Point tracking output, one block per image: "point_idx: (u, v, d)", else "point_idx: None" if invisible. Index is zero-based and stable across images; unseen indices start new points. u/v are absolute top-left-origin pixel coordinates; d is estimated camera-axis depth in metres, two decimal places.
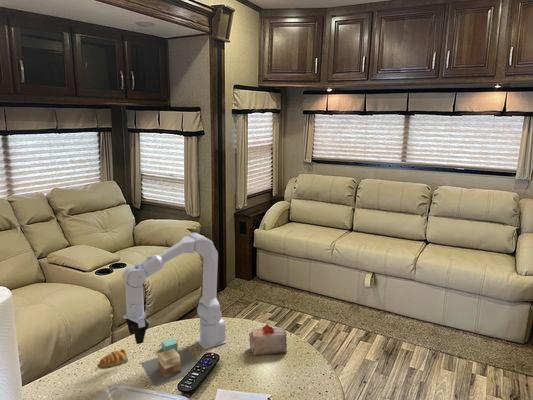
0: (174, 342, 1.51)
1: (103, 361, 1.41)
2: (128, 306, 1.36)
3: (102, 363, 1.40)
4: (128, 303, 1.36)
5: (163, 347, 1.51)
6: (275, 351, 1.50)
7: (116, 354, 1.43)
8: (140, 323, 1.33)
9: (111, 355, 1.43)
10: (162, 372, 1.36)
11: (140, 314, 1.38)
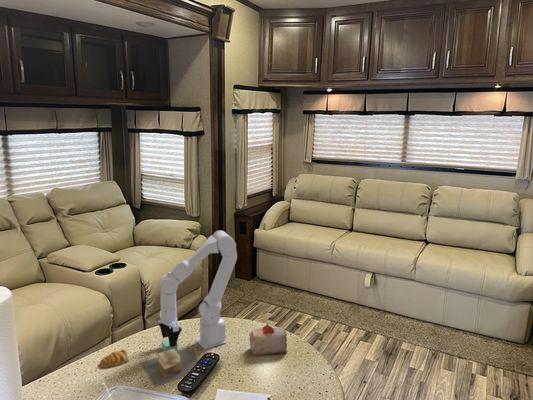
0: None
1: (104, 361, 1.40)
2: (163, 311, 1.47)
3: (103, 363, 1.40)
4: (162, 308, 1.47)
5: (163, 347, 1.51)
6: (275, 351, 1.50)
7: (117, 354, 1.43)
8: (174, 327, 1.44)
9: (112, 355, 1.42)
10: (162, 372, 1.36)
11: (173, 319, 1.48)
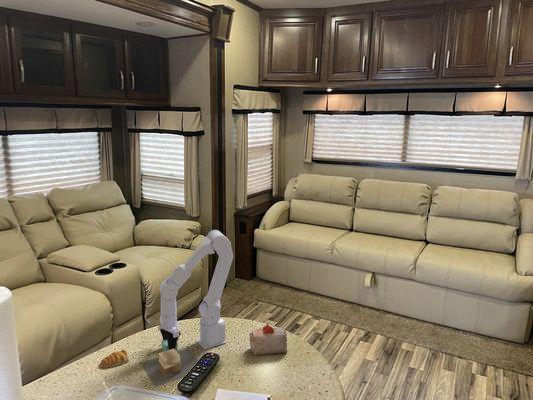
0: None
1: (104, 362, 1.40)
2: (163, 317, 1.47)
3: (103, 364, 1.40)
4: (162, 314, 1.47)
5: (163, 347, 1.51)
6: (275, 351, 1.50)
7: (117, 354, 1.43)
8: (175, 333, 1.44)
9: (112, 356, 1.42)
10: (162, 372, 1.36)
11: (174, 324, 1.49)
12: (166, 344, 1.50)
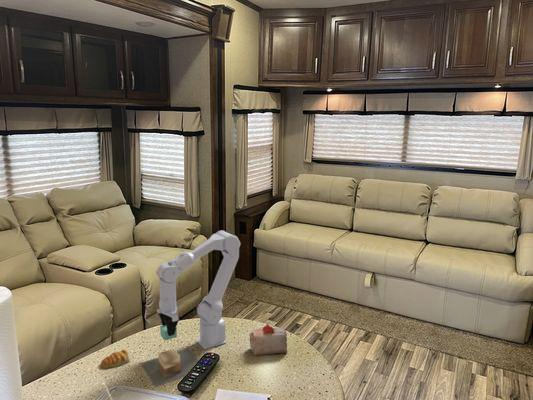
0: None
1: (105, 362, 1.40)
2: (162, 301, 1.43)
3: (104, 364, 1.40)
4: (162, 298, 1.42)
5: (162, 332, 1.46)
6: (275, 351, 1.50)
7: (118, 355, 1.43)
8: (174, 317, 1.40)
9: (112, 356, 1.42)
10: (162, 372, 1.36)
11: (173, 309, 1.44)
12: (165, 329, 1.45)
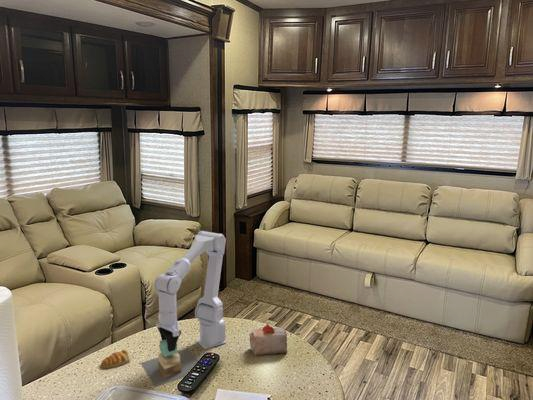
0: None
1: (105, 362, 1.40)
2: (161, 314, 1.33)
3: (104, 364, 1.39)
4: (165, 312, 1.32)
5: (161, 348, 1.36)
6: (275, 351, 1.50)
7: (118, 355, 1.42)
8: (175, 332, 1.30)
9: (113, 356, 1.42)
10: (162, 372, 1.36)
11: (173, 322, 1.34)
12: (164, 345, 1.35)
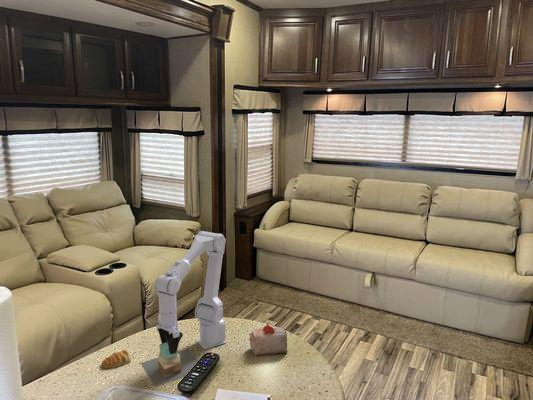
0: None
1: (106, 362, 1.40)
2: (162, 315, 1.33)
3: (105, 364, 1.39)
4: (165, 313, 1.32)
5: (161, 351, 1.36)
6: (276, 351, 1.50)
7: (118, 355, 1.42)
8: (175, 333, 1.30)
9: (113, 356, 1.42)
10: (162, 372, 1.36)
11: (174, 323, 1.34)
12: (165, 348, 1.35)
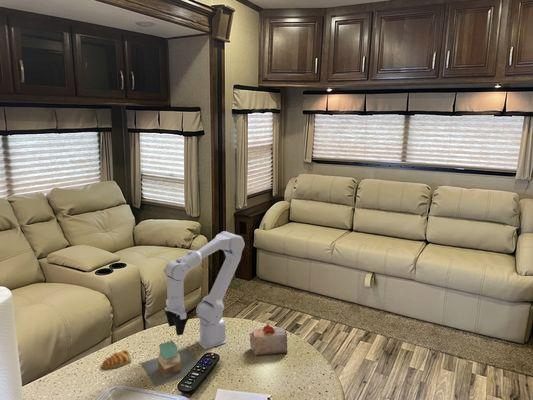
0: (173, 345, 1.37)
1: (106, 363, 1.40)
2: (170, 299, 1.42)
3: (105, 365, 1.39)
4: (171, 296, 1.42)
5: (161, 351, 1.36)
6: (276, 351, 1.50)
7: (119, 355, 1.42)
8: (182, 315, 1.39)
9: (114, 356, 1.42)
10: (162, 372, 1.36)
11: (181, 307, 1.43)
12: (165, 348, 1.35)
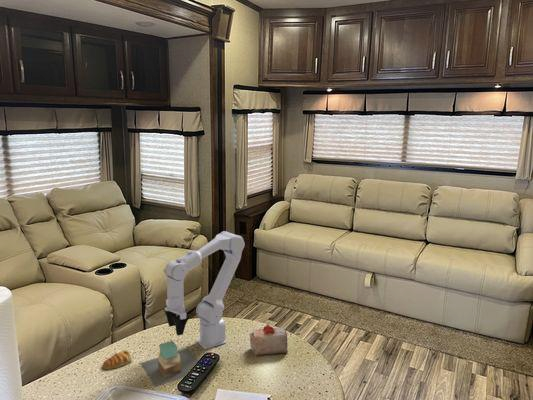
0: (173, 345, 1.37)
1: (107, 363, 1.39)
2: (170, 299, 1.42)
3: (106, 365, 1.39)
4: (171, 296, 1.42)
5: (161, 351, 1.36)
6: (276, 351, 1.50)
7: (120, 356, 1.42)
8: (182, 315, 1.39)
9: (115, 357, 1.42)
10: (162, 372, 1.36)
11: (181, 307, 1.43)
12: (165, 348, 1.35)
